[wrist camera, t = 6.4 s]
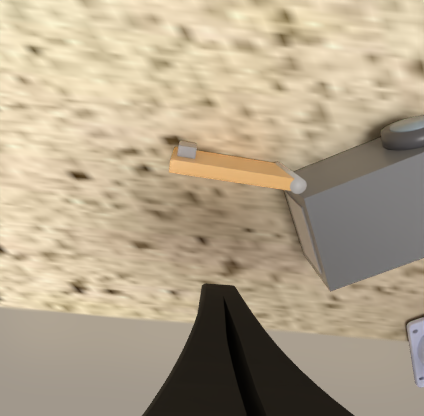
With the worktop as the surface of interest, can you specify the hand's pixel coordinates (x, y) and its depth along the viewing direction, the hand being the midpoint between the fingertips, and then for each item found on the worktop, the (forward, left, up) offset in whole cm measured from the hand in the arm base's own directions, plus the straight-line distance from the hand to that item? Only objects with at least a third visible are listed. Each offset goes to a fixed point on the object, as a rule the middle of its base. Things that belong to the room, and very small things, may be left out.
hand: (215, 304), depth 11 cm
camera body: (-3, -11, -9) cm, 15 cm away
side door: (+3, -3, -9) cm, 10 cm away
